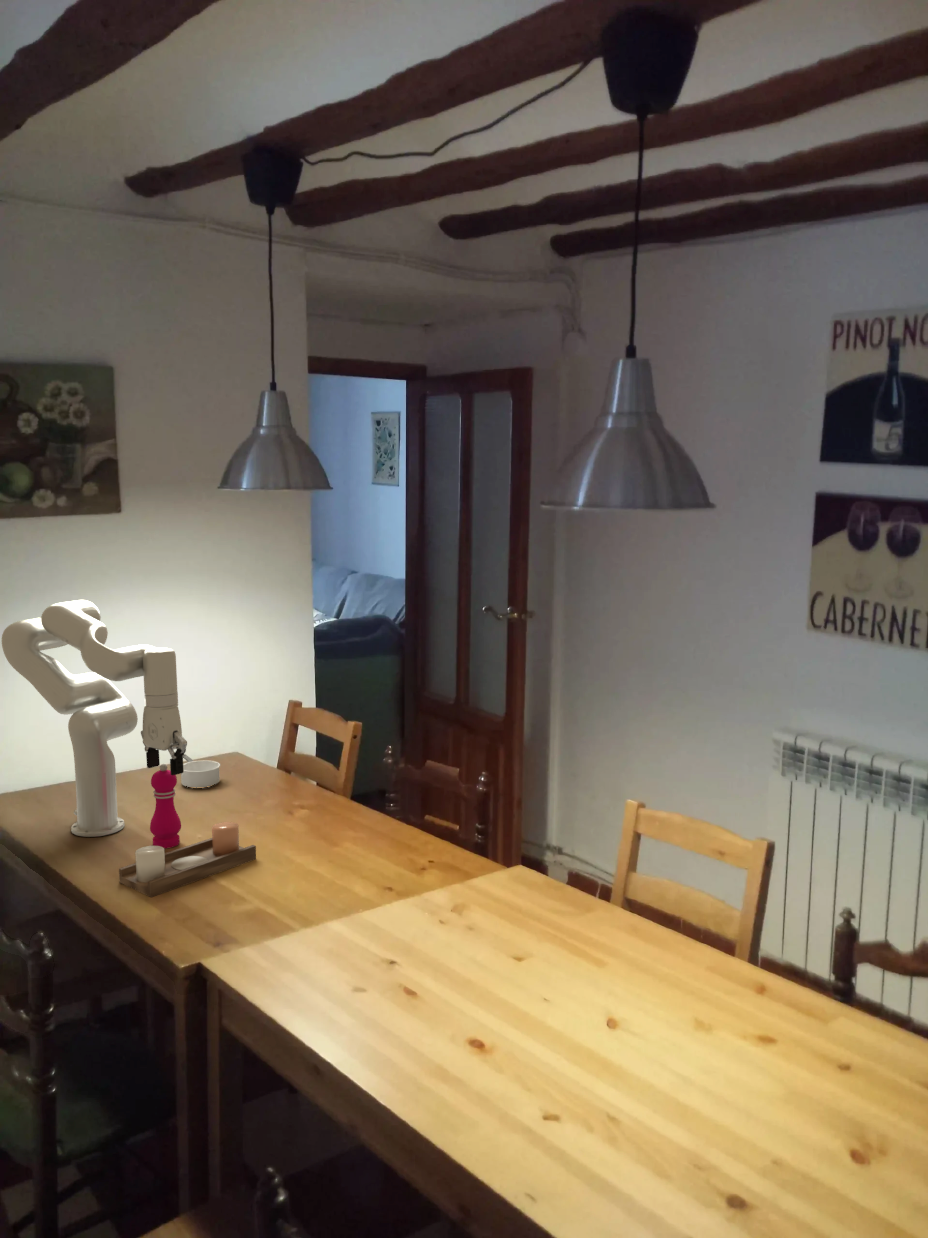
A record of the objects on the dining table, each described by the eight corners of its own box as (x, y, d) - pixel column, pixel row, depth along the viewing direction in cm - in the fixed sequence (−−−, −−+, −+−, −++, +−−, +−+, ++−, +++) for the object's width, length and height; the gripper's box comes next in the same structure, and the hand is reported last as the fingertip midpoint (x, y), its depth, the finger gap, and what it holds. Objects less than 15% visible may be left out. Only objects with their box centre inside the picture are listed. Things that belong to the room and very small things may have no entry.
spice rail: (119, 882, 219) (118, 868, 218) (224, 846, 240) (223, 834, 240) (151, 897, 211) (150, 883, 211) (256, 859, 233) (255, 846, 232)
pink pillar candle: (207, 851, 233) (206, 827, 232) (228, 844, 237) (227, 820, 236) (223, 858, 229) (222, 833, 228) (244, 850, 234) (243, 826, 233)
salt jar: (131, 877, 217) (129, 851, 217) (155, 869, 222) (154, 843, 221) (146, 885, 214) (145, 858, 213) (170, 876, 218) (169, 850, 217)
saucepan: (202, 769, 303) (202, 751, 302) (227, 786, 287) (226, 767, 286) (165, 775, 297) (164, 757, 296) (187, 793, 280) (187, 774, 280)
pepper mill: (162, 852, 237) (159, 770, 234) (144, 845, 241) (141, 764, 238) (188, 843, 242) (185, 763, 239) (169, 836, 247) (166, 758, 244)
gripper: (126, 698, 239) (130, 767, 241) (169, 708, 228) (172, 780, 230) (154, 693, 245) (157, 761, 247) (196, 702, 234) (200, 773, 236)
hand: (165, 770), depth 239 cm, fingers open, 9 cm apart
